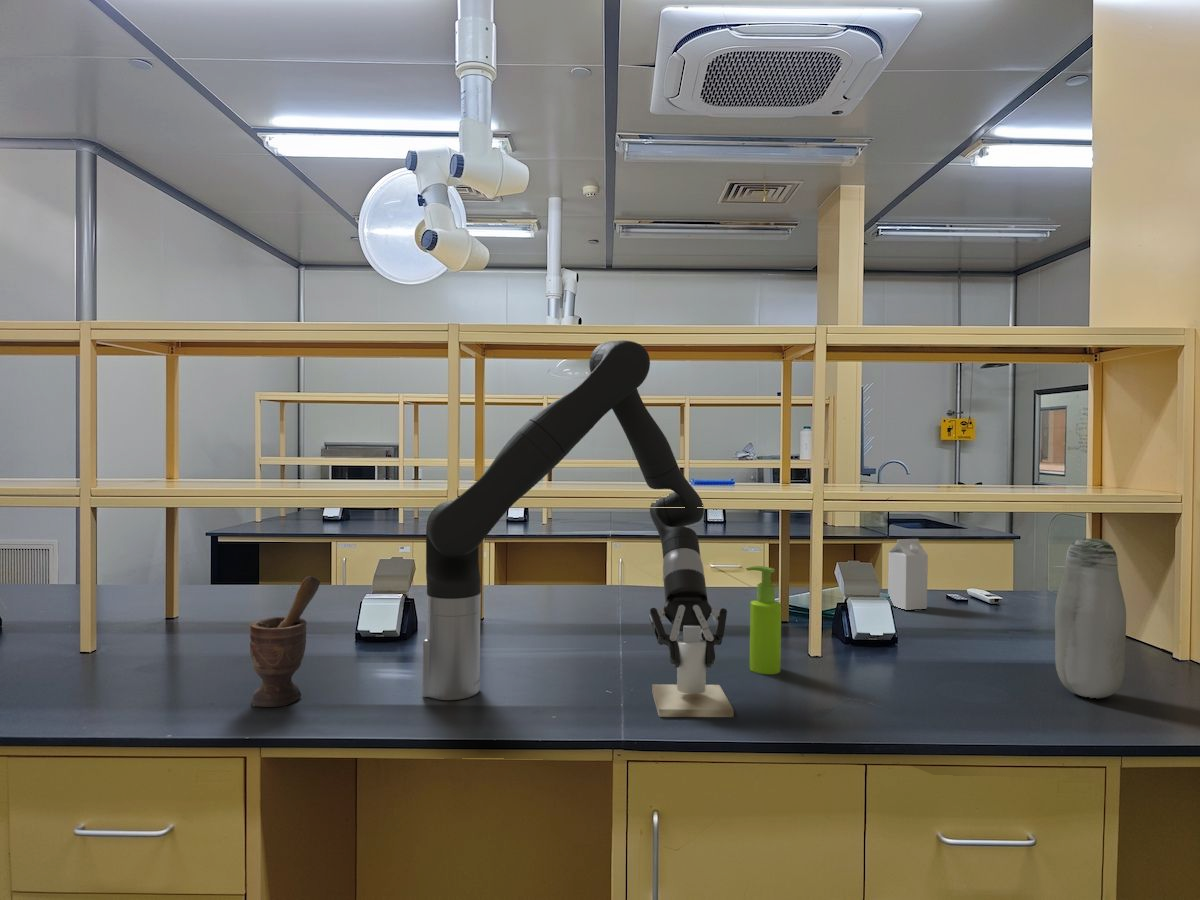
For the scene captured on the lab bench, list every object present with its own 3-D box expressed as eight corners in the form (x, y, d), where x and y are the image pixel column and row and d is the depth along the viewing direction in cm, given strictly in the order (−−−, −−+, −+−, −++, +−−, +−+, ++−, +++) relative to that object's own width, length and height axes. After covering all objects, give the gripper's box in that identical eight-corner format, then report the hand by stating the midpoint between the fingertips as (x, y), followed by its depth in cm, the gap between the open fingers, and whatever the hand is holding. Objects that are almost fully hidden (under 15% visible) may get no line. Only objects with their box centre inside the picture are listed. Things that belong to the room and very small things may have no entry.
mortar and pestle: (281, 684, 127) (283, 572, 127) (325, 687, 125) (327, 574, 125) (237, 707, 116) (239, 584, 115) (285, 711, 114) (287, 587, 114)
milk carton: (887, 606, 198) (888, 537, 198) (908, 604, 200) (909, 537, 200) (905, 611, 191) (906, 541, 191) (927, 610, 193) (928, 540, 193)
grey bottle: (1111, 710, 120) (1114, 544, 120) (1045, 692, 128) (1047, 537, 128) (1133, 698, 125) (1135, 540, 125) (1068, 682, 134) (1070, 534, 134)
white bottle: (678, 693, 118) (679, 630, 118) (675, 684, 122) (675, 622, 122) (707, 693, 118) (708, 630, 118) (703, 684, 123) (703, 622, 122)
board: (659, 716, 114) (659, 709, 114) (651, 691, 126) (651, 684, 126) (733, 717, 114) (733, 709, 114) (719, 691, 126) (719, 684, 126)
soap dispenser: (753, 662, 144) (754, 563, 144) (785, 669, 139) (786, 567, 139) (739, 668, 139) (740, 567, 139) (772, 676, 135) (773, 571, 135)
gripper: (646, 567, 127) (652, 654, 115) (726, 567, 128) (739, 654, 116) (643, 590, 133) (648, 676, 121) (720, 591, 133) (732, 676, 121)
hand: (693, 664), depth 118 cm, fingers closed on white bottle, 4 cm apart
